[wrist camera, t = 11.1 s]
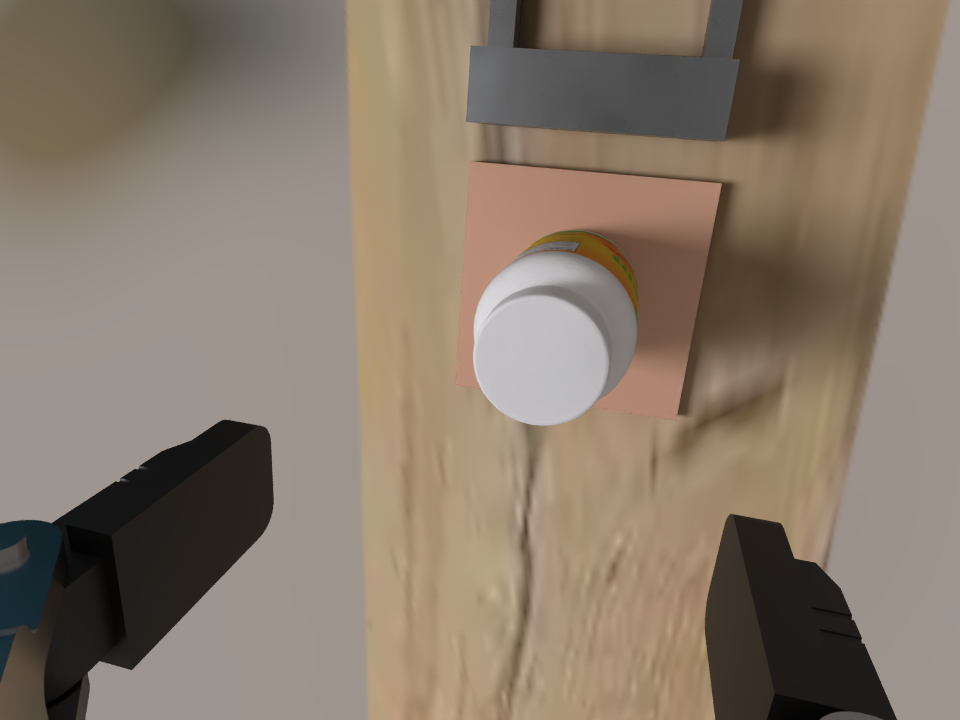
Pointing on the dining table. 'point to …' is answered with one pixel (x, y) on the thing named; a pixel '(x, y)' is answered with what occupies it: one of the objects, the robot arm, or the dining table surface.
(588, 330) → the supplement bottle
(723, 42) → the bench vise
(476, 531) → the dining table surface
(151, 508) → the robot arm
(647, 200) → the terracotta tile
